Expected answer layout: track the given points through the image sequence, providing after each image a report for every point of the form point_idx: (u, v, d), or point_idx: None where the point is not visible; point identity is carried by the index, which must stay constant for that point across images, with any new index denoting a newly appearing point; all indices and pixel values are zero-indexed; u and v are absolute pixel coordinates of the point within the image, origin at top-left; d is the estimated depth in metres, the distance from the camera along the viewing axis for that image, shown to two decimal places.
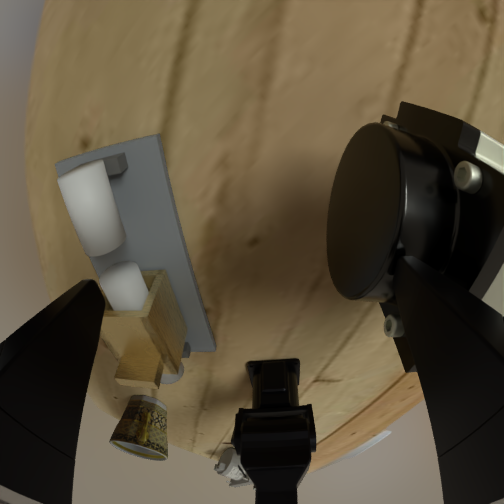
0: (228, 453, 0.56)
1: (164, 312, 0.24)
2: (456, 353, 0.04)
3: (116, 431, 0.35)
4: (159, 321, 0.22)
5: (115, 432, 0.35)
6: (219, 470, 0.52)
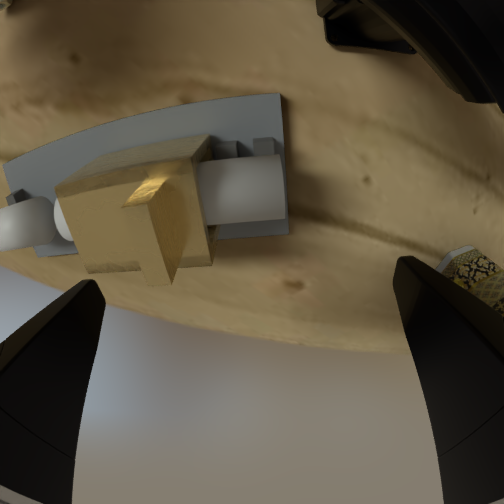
0: None
1: (106, 162, 0.14)
2: (456, 353, 0.04)
3: None
4: (92, 170, 0.13)
5: None
6: None
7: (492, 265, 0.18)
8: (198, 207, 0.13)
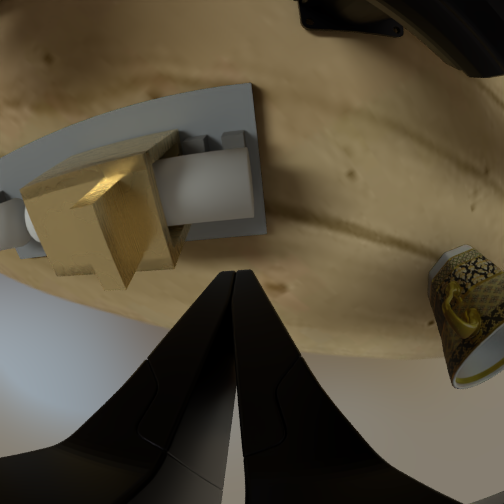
0: None
1: (71, 162, 0.13)
2: None
3: None
4: (56, 171, 0.12)
5: (447, 367, 0.17)
6: None
7: (491, 266, 0.17)
8: (154, 206, 0.12)
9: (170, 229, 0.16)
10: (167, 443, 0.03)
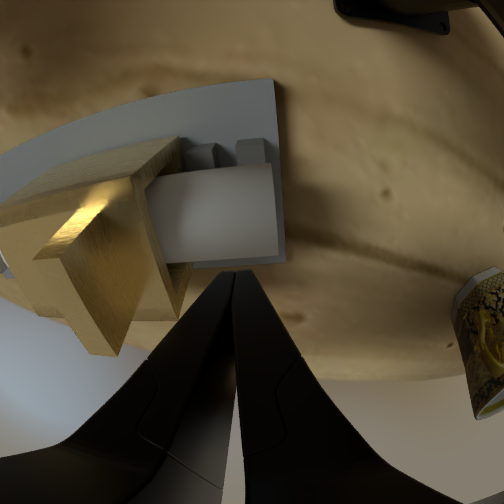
0: None
1: (47, 180, 0.10)
2: None
3: (470, 398, 0.14)
4: (27, 193, 0.09)
5: (471, 400, 0.14)
6: None
7: None
8: (149, 248, 0.09)
9: (171, 264, 0.13)
10: (167, 443, 0.03)
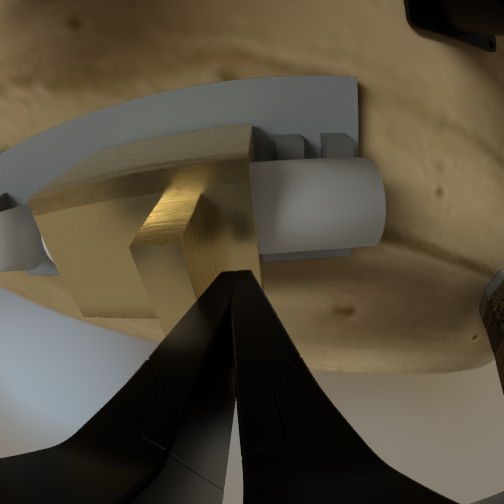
0: None
1: (104, 161, 0.10)
2: None
3: (502, 383, 0.14)
4: (83, 173, 0.09)
5: (502, 385, 0.14)
6: None
7: None
8: (254, 236, 0.09)
9: None
10: (169, 443, 0.03)
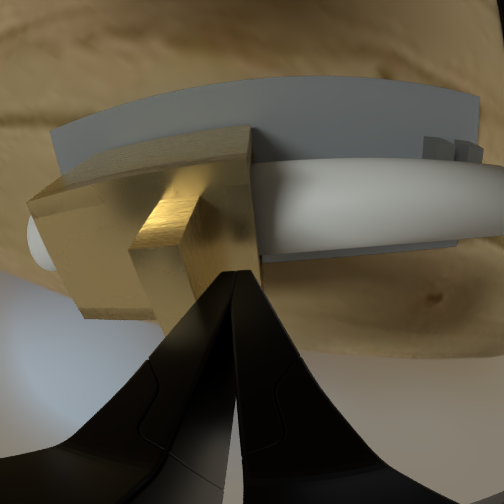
0: None
1: (103, 163, 0.10)
2: None
3: None
4: (82, 176, 0.09)
5: None
6: None
7: None
8: (253, 238, 0.09)
9: None
10: (169, 443, 0.03)
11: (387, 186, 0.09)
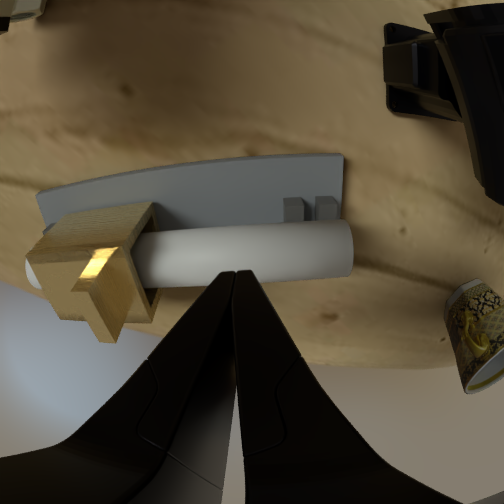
0: None
1: (66, 231, 0.17)
2: None
3: (460, 376, 0.21)
4: (54, 241, 0.15)
5: (460, 377, 0.21)
6: None
7: (497, 299, 0.20)
8: (133, 282, 0.15)
9: None
10: (167, 443, 0.03)
11: (215, 251, 0.16)
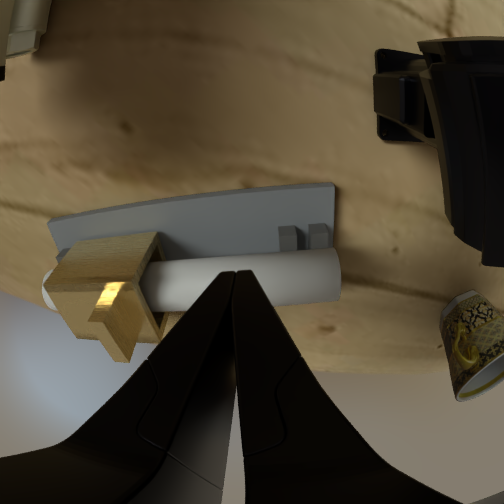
0: None
1: (79, 261, 0.19)
2: None
3: (452, 385, 0.22)
4: (68, 271, 0.18)
5: None
6: None
7: (490, 311, 0.21)
8: (143, 310, 0.17)
9: None
10: (167, 443, 0.03)
11: None
